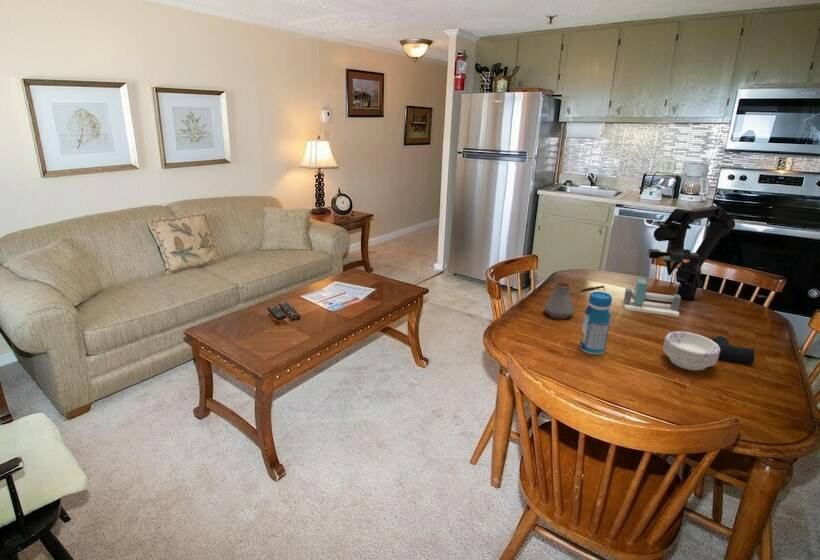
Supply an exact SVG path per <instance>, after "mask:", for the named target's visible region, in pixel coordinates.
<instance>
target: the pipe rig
mask: <svg viewBox="0 0 820 560" xmlns="http://www.w3.org/2000/svg"><path fill="white" fill-rule="evenodd" d="M636 294H637V291H635V290H632V288H625V292H624V298H622V304H623V308H624V310H626V311H633V312H639V313H640V312H641V313H648V314H653V315H654V314H656V315H664V316H671V317H678V318H679V317H680V312H679V309H680V305H681V301H682V299H681V297H680V295H678V294H676V293H673V294H671V295H670V294H663V293H656V292H648V291H646V293H645V298H644V303H643V305H642V304H635V302H634V298H636ZM632 298H633V299H632ZM645 300H652V301H645ZM654 301H659V302H654ZM662 302H666V303H662Z"/></svg>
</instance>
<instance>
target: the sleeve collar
mask: <svg viewBox="0 0 820 560" xmlns="http://www.w3.org/2000/svg"><path fill="white" fill-rule="evenodd" d="M636 279H637V280H636V283H635V289H634V291H637V294H636V298H634V297H633V300H634V302H635V304H642V305H643V303H644V301H645V299H644V298H645V293H646V292H647V287H648V283H647V281H646V279H644V278H636Z"/></svg>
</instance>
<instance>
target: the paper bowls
mask: <svg viewBox="0 0 820 560" xmlns="http://www.w3.org/2000/svg"><path fill="white" fill-rule="evenodd" d="M662 351H663V353H664V354H665V355H666V356H667V357H668V359H669V360H670V362H671V363H672V364H674V365H675V366H677V367H679V368H681V369H684V370H689V371H703V370H706V368H710V367H713V366H715V365H716V364H717V362H718V360H719V359H718V357H719V353H720V347H719V346H718V344H717V343H715V342H714V341H712V340H711V338H709V337H706V336H703V335H700V334H697V333H693V332H689V331H671V332H669V333H667V334H666V335H665V337H664V342H663V346H662Z"/></svg>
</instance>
